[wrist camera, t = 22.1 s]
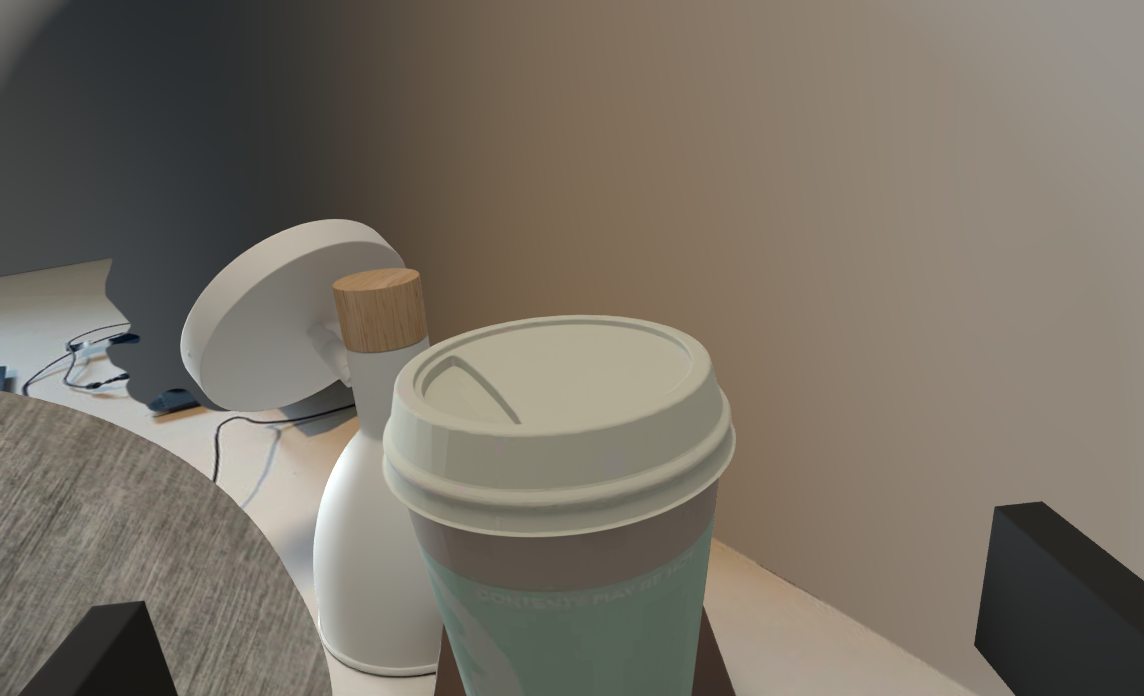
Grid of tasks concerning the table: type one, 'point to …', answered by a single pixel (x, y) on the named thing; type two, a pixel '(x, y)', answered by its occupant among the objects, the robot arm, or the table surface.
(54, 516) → the grey round piece
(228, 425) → the table surface
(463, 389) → the coffee cup
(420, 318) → the light fixture
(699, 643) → the wooden trinket box
